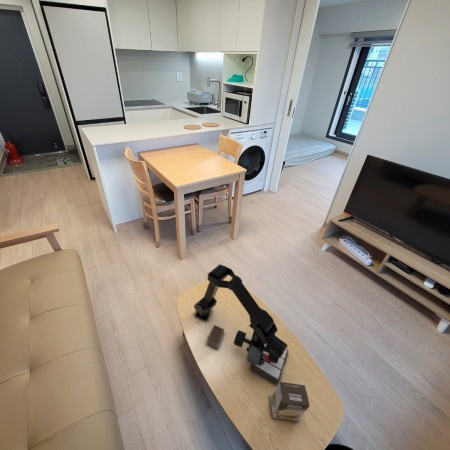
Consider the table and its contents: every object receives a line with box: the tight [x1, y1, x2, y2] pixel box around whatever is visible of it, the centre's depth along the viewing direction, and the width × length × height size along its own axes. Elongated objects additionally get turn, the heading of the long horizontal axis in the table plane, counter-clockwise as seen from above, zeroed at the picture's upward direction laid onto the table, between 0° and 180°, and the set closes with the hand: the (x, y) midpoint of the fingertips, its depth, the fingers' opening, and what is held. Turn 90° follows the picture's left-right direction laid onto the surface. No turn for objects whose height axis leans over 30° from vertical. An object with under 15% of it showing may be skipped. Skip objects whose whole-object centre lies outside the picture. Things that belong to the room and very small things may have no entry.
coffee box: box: [270, 381, 310, 422], centre depth 84 cm, size 9×6×16 cm
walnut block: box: [207, 324, 225, 350], centre depth 109 cm, size 5×8×4 cm, turn 155°
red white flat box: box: [251, 343, 289, 385], centre depth 101 cm, size 11×4×15 cm
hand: (253, 355), depth 103 cm, fingers closed
